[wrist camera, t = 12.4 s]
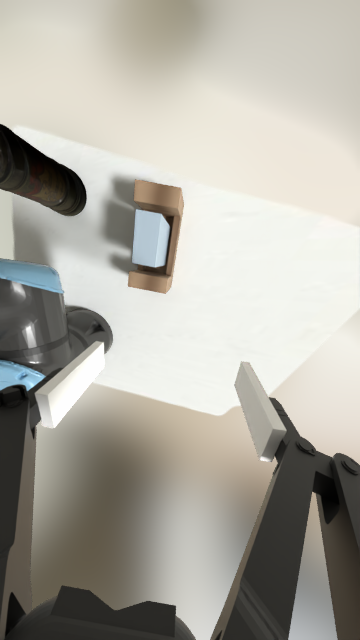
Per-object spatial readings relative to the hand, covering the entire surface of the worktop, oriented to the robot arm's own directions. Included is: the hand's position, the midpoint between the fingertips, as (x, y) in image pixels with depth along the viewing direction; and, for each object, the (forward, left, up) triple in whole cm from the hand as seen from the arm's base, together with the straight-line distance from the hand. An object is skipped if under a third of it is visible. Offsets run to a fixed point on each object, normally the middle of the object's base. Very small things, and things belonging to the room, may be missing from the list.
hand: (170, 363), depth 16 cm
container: (-30, +18, -29) cm, 46 cm away
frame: (-8, +11, -29) cm, 32 cm away
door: (-8, +11, -28) cm, 31 cm away
